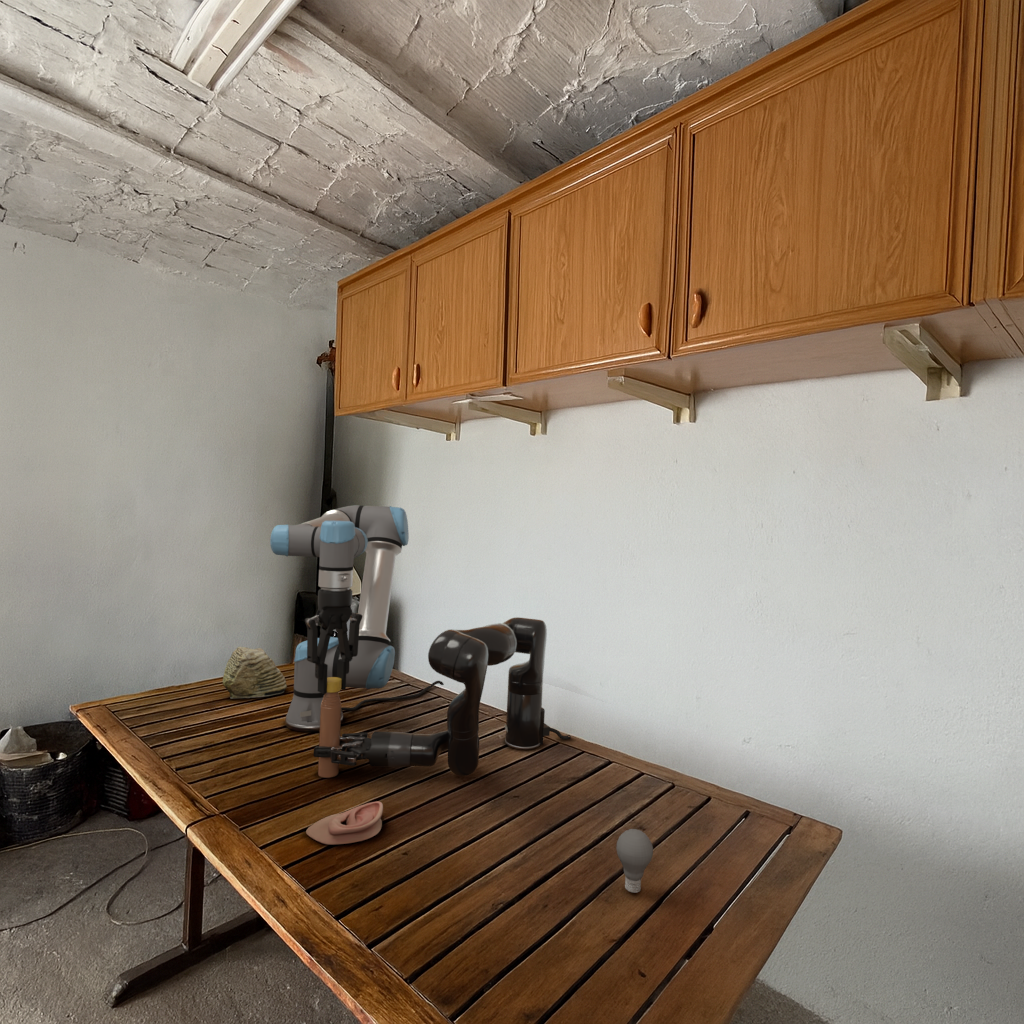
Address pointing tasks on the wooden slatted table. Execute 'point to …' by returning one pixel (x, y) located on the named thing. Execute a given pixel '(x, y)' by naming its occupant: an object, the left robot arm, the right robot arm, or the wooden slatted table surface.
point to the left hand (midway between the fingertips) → (331, 690)
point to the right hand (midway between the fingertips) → (317, 747)
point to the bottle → (329, 732)
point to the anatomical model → (348, 825)
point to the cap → (333, 684)
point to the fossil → (252, 674)
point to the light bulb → (634, 857)
